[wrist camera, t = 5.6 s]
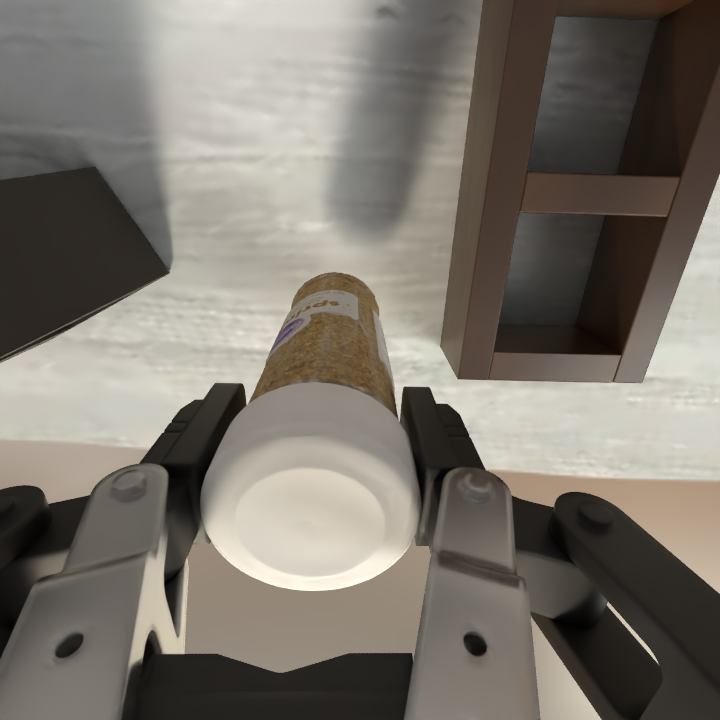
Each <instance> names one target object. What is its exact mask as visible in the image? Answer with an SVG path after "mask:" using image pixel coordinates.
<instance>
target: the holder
mask: <svg viewBox="0 0 720 720" xmlns="http://www.w3.org/2000/svg"><path fill="white" fill-rule="evenodd" d="M556 16H571V17H594V18H617V19H641V20H659V22H658V26H657V30H656V33H655V37H654V41H653V44H652V48H651V52H650V55H649V59H648V63H647V66H646V70H645V74H644V77H643V81H642V85H641V88H640V92H639V96H638V99H637V103H636V107H635V110H634V114H633V118H632V121H631V125H630V129H629V132H628V136H627V140H626V143H625V147H624V151H623V154H622V158H621V162H620V165H619V169H618V173H617V174H592V173H563V172H533V171H527V167H528V162H529V157H530V151H531V146H532V140H533V135H534V130H535V124H536V119H537V114H538V108H539V103H540V97H541V92H542V87H543V81H544V76H545V70H546V65H547V60H548V54H549V49H550V44H551V38H552V33H553V27H554V22H555V17H556ZM719 174H720V0H483V6H482V14H481V22H480V30H479V38H478V46H477V54H476V62H475V70H474V79H473V87H472V95H471V103H470V111H469V119H468V127H467V135H466V143H465V151H464V159H463V167H462V175H461V183H460V191H459V200H458V208H457V216H456V224H455V232H454V240H453V248H452V256H451V264H450V272H449V280H448V288H447V296H446V304H445V312H444V321H443V329H442V337H441V345H440V347H441V349H442V351H443V352H444V354H445V356H446V358H447V360H448V362H449V364H450V365H451V367H452V369H453V371H454V373H455V375H456V377H457V379H468V380H511V381H558V382H605V383H612V382H616V383H642V382H643V379H644V376H645V374H646V371H647V368H648V366H649V363H650V360H651V358H652V355H653V352H654V349H655V347H656V344H657V341H658V339H659V336H660V333H661V331H662V328H663V325H664V322H665V320H666V317H667V314H668V312H669V309H670V306H671V304H672V301H673V298H674V296H675V293H676V290H677V287H678V285H679V282H680V279H681V277H682V274H683V271H684V269H685V266H686V263H687V260H688V258H689V255H690V252H691V250H692V247H693V244H694V242H695V239H696V236H697V234H698V231H699V228H700V225H701V223H702V220H703V217H704V215H705V212H706V209H707V207H708V204H709V201H710V198H711V196H712V193H713V190H714V188H715V185H716V182H717V180H718V177H719ZM519 212H520V213H551V214H583V215H606V217H605V220H604V224H603V228H602V231H601V235H600V239H599V242H598V246H597V250H596V253H595V257H594V261H593V264H592V268H591V272H590V275H589V279H588V283H587V286H586V290H585V294H584V297H583V301H582V305H581V308H580V312H579V316H578V319H577V323H576V326H559V325H519V324H498V323H499V318H500V313H501V307H502V302H503V297H504V291H505V286H506V280H507V275H508V270H509V264H510V259H511V253H512V248H513V243H514V237H515V232H516V227H517V221H518V216H519Z"/></svg>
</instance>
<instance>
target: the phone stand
mask: <svg viewBox="0 0 720 720" xmlns="http://www.w3.org/2000/svg"><path fill="white" fill-rule="evenodd" d="M169 273H170V272H169V271H168V270H167V268H166V267H165V265H164V264H163V262H162V261H161V260H160V258H159V257H158V255H157V254H156V253H155V251H154V250H153V248H152V247H151V245H150V244H149V243H148V241H147V240H146V238H145V237H144V235H143V234H142V233H141V231H140V230H139V228H138V227H137V226H136V224H135V223H134V221H133V220H132V218H131V217H130V216H129V214H128V213H127V211H126V210H125V209H124V207H123V206H122V204H121V203H120V201H119V200H118V199H117V197H116V196H115V194H114V193H113V191H112V190H111V189H110V187H109V186H108V184H107V183H106V182H105V180H104V179H103V177H102V176H101V174H100V173H99V172H98V170H97V169H96V167H89V168H82V169H75V170H68V171H61V172H54V173H48V174H41V175H34V176H27V177H20V178H13V179H6V180H0V363H1V362H4V361H6V360H8V359H10V358H12V357H14V356H17V355H19V354H21V353H23V352H25V351H27V350H30V349H32V348H34V347H36V346H38V345H40V344H43V343H45V342H47V341H49V340H51V339H53V338H55V337H57V336H58V335H60V334H62V333H64V332H65V331H67V330H69V329H71V328H73V327H74V326H76V325H78V324H80V323H82V322H83V321H85V320H87V319H89V318H90V317H92V316H94V315H96V314H98V313H99V312H101V311H103V310H105V309H106V308H108V307H110V306H112V305H114V304H115V303H117V302H119V301H121V300H123V299H124V298H126V297H128V296H130V295H131V294H133V293H135V292H137V291H139V290H140V289H142V288H144V287H146V286H147V285H149V284H151V283H153V282H155V281H156V280H158V279H160V278H162V277H164V276H165V275H167V274H169Z"/></svg>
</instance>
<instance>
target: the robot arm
mask: <svg viewBox="0 0 720 720" xmlns="http://www.w3.org/2000/svg"><path fill="white" fill-rule="evenodd" d="M246 406H247V405H246V396H245V389H244V386H243V384H241V383H215V384H214V385H213V386H212V388H211V389H210V391H209V392H208V394H207V395H206V397H205V398H204V399H203V400H194V401H193V402H191V403H189V404H188V405H186V406H185V407H183V408H182V409H180V411H179V412H178V413H177V415H176V416H175V417H174V418H173V420H172V423H170V424H169V425H168V426H167V428H166V429H165V430H164V431H165V432H164V433H162V434H161V435H160V437H159V438H158V439H157V441H156V442H155V443H154V445H153V446H152V447H151V449H150V450H149V451H148V453H147V454H146V455H145V457H144V458H143V459H142V460H141V462H140V463H139V464H135V465H130V466H127V467H124V468H122V469H119V470H117V471H115V472H113V473H111V474H109V475H107V476H106V477H105V478H103V479H102V480H101V481H100V482H99V483H98V484H97V485H96V486H95V487H94V489H93V490H92V492H91V495H89V496H85V497H80V498H75V499H70V500H65V501H61V502H56V503H51V504H48V502H47V500H46V497H45V495H44V493H43V491H42V490H41V489H40V488H38V487H35V486H26V485H23V486H14V487H9V488H5V489H2V490H0V720H540V711H539V700H538V689H537V679H536V668H535V658H534V647H533V636H532V626H531V616H532V618H533V619H534V621H535V622H536V624H537V625H538V627H539V628H540V630H541V631H542V633H543V634H544V636H545V637H546V638H547V640H548V641H549V643H550V644H551V646H552V647H553V649H554V650H555V652H556V653H557V655H558V656H559V658H560V659H561V660H562V662H563V663H564V665H565V666H566V668H567V669H568V671H569V672H570V674H571V675H572V677H573V678H574V680H575V681H576V682H577V684H578V685H579V687H580V688H581V690H582V691H583V693H584V694H585V696H586V697H587V699H588V700H589V702H590V703H591V705H592V706H593V707H594V709H595V710H596V712H597V713H598V715H599V716H600V718H601V719H602V720H720V594H719V593H718V592H717V591H715V590H714V589H713V588H712V587H711V586H709V585H708V584H707V583H706V582H705V581H704V580H703V579H701V578H700V577H699V576H698V575H697V574H696V573H694V572H693V571H692V570H691V569H690V568H688V567H687V566H686V565H685V564H684V563H682V562H681V561H680V560H679V559H678V558H677V557H676V556H674V555H673V554H672V553H671V552H670V551H668V550H667V549H666V548H665V547H664V546H663V545H661V544H660V543H659V542H658V541H657V540H655V539H654V538H653V537H652V536H651V535H650V534H648V533H647V532H646V531H645V530H644V529H643V528H641V527H640V526H639V525H638V524H637V523H636V522H634V521H633V520H632V519H631V518H630V517H629V516H627V515H626V514H625V513H624V512H623V511H621V510H620V509H619V508H618V507H616V506H615V505H613V504H612V503H610V502H608V501H606V500H604V499H602V498H600V497H597V496H594V495H591V494H587V493H582V492H569V493H565V494H562V495H561V496H559V497H558V498H557V500H556V502H555V505H554V508H553V507H549V506H545V505H541V504H537V503H533V502H529V501H525V500H522V499H519V498H517V497H514V496H512V495H511V492H510V490H509V488H508V486H507V485H506V484H505V483H504V482H503V480H501V479H500V478H499V477H497V476H496V475H494V474H493V473H491V472H489V471H486V470H485V468H484V466H483V463H482V461H481V459H480V457H479V455H478V453H477V451H476V449H475V446H474V444H473V442H472V440H471V438H470V437H469V434H468V431H467V429H466V428H465V425H464V423H463V421H462V419H461V417H460V414H459V413H458V412H456V411H455V410H454V409H453V408H452V407H450V406H449V405H448V404H436V402H435V400H434V397H433V395H432V392H431V389H430V388H429V387H404V388H403V393H402V404H401V415H400V424H401V425H402V427H403V428H404V430H405V432H406V434H407V436H408V438H409V441H410V444H411V447H412V451H413V456H414V460H415V465H416V470H417V476H418V482H419V487H420V494H421V502H422V510H421V518H420V523H419V527H418V530H417V533H416V535H415V542H416V546H429V548H430V553H431V557H430V563H429V570H428V576H427V582H426V588H425V594H424V600H423V606H422V612H421V618H420V625H419V631H418V637H417V643H416V649H415V655H414V661H413V657H412V653H349V654H346V655H342V656H339V657H335V658H333V659H329V660H326V661H322V662H319V663H315V664H312V665H309V666H305V667H302V668H299V669H296V670H292V671H289V672H285V673H276V672H272V671H269V670H266V669H263V668H260V667H256V666H253V665H250V664H247V663H244V662H241V661H238V660H234V659H231V658H228V657H225V656H222V655H219V654H185V653H184V645H185V627H186V609H187V608H186V607H187V589H188V572H189V567H188V561H187V556H188V554H189V552H190V549H191V547H192V545H193V544H210V542H211V540H210V538H209V537H208V535H207V533H206V530H205V528H204V525H203V521H202V517H201V511H200V496H201V489H202V485H203V482H204V478H205V475H206V473H207V471H208V469H209V466H210V464H211V462H212V460H213V458H214V456H215V453H216V451H217V449H218V447H219V445H220V443H221V441H222V439H223V437H224V435H225V433H226V431H227V429H228V428H229V426H230V424H231V422H232V421H233V420H234V418H235V417H236V416H237V415H238V414H239V412H240V411H241V410H242V409H243V408H244V407H246ZM608 602H609V603H610V604H611V605H612V606H613V607H614V609H615V610H616V611H617V612H618V613H619V614H620V615H621V616H622V618H623V619H624V620H625V621H626V622H627V623H628V624H629V625H630V626H631V628H632V629H633V630H634V631H635V632H636V633H637V634H638V635H639V637H640V638H641V639H642V640H643V641H644V642H645V643H646V644H647V646H648V647H649V648H650V649H651V651H652V652H653V653H654V655H655V657H656V659H657V661H658V663H659V665H660V666H659V665H658V663H657V662H656V661H655V660H654V659H653V658H652V657H651V655H650V654H649V653H648V652H647V651H646V650H645V649H644V648H643V646H642V645H641V644H640V643H639V642H638V641H637V640H636V639H635V637H634V636H633V635H632V634H631V633H630V632H629V631H628V629H627V628H626V627H625V626H624V625H623V624H622V622H621V621H620V620H619V619H618V618H617V617H616V616H615V614H614V613H613V612H612V611H611V610H610V609H609V608H608V606H607V603H608ZM530 614H531V615H530Z"/></svg>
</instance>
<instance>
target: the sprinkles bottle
mask: <svg viewBox="0 0 720 720" xmlns="http://www.w3.org/2000/svg"><path fill="white" fill-rule="evenodd" d="M394 393H395V387H394V381H393V376H392V371H391V366H390V362H389V357H388V352H387V348H386V343H385V339H384V334H383V330H382V326H381V322H380V320H379V307H378V305H377V302H376V299H375V296H374V294H373V293H372V292H371V290H370V289H369V288H368V287H367V285H366V284H365V283H364V282H363V281H361V280H359V279H358V278H356V277H354V276H351V275H348V274H343V273H336V272H333V273H325V274H321V275H318V276H316V277H315V278H313V279H310V280H309V281H307V282H306V283H304V285H303V286H302V287H301V288H300V289H299V290H298V292H297V294H296V295H295V297H294V299H293V303H292V308H291V311H290V312H289V314H288V315H287V317H286V319H285V321H284V323H283V325H282V328H281V330H280V332H279V334H278V336H277V338H276V341H275V343H274V345H273V347H272V349H271V351H270V354H269V356H268V358H267V360H266V366H265V368H264V371H263V373H262V375H261V378H260V380H259V382H258V384H257V386H256V389H255V391H254V394H253V396H252V397H251V399H250V401H249V404H248V405H247V406H246V407H244V408H243V409H242V410H241V411H240V412H239V414H238V415H237V416H236V417H235V418H234V420H233V421H232V422H231V424H230V426H229V428H228V429H227V431H226V433H225V435H224V437H223V439H222V441H221V443H220V445H219V447H218V449H217V451H216V453H215V456H214V458H213V460H212V462H211V464H210V466H209V469H208V471H207V473H206V475H205V478H204V482H203V485H202V489H201V496H200V511H201V517H202V521H203V525H204V528H205V530H206V533H207V535H208V537H209V538H210V540H211V541H212V543H213V545H214V546H215V547H216V549H217V550H218V551H219V552H220V553H221V554H222V556H223V557H224V558H225V559H227V560H228V561H229V562H230V563H231V564H232V565H234V566H235V567H236V568H238V569H239V570H241V571H243V572H244V573H246V574H248V575H250V576H252V577H254V578H256V579H258V580H260V581H263V582H266V583H268V584H271V585H274V586H278V587H283V588H288V589H294V590H307V591H308V590H309V591H320V590H331V589H340V588H344V587H348V586H352V585H355V584H358V583H361V582H364V581H366V580H368V579H371V578H373V577H375V576H377V575H378V574H380V573H382V572H383V571H385V570H386V569H388V568H389V567H390V566H392V565H393V564H394V563H395V562H396V561H397V560H398V559H399V558H400V557H401V556H402V555H403V554H404V553H405V552H406V550H407V549H408V547H409V546H410V544H411V543H412V541H413V539H414V537H415V535H416V533H417V530H418V527H419V523H420V518H421V510H422V502H421V494H420V487H419V482H418V476H417V470H416V465H415V460H414V456H413V451H412V447H411V444H410V441H409V438H408V436H407V434H406V432H405V430H404V428H403V427H402V425H401V424H400V422H399V420H398V415H397V409H396V404H395V397H394Z"/></svg>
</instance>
